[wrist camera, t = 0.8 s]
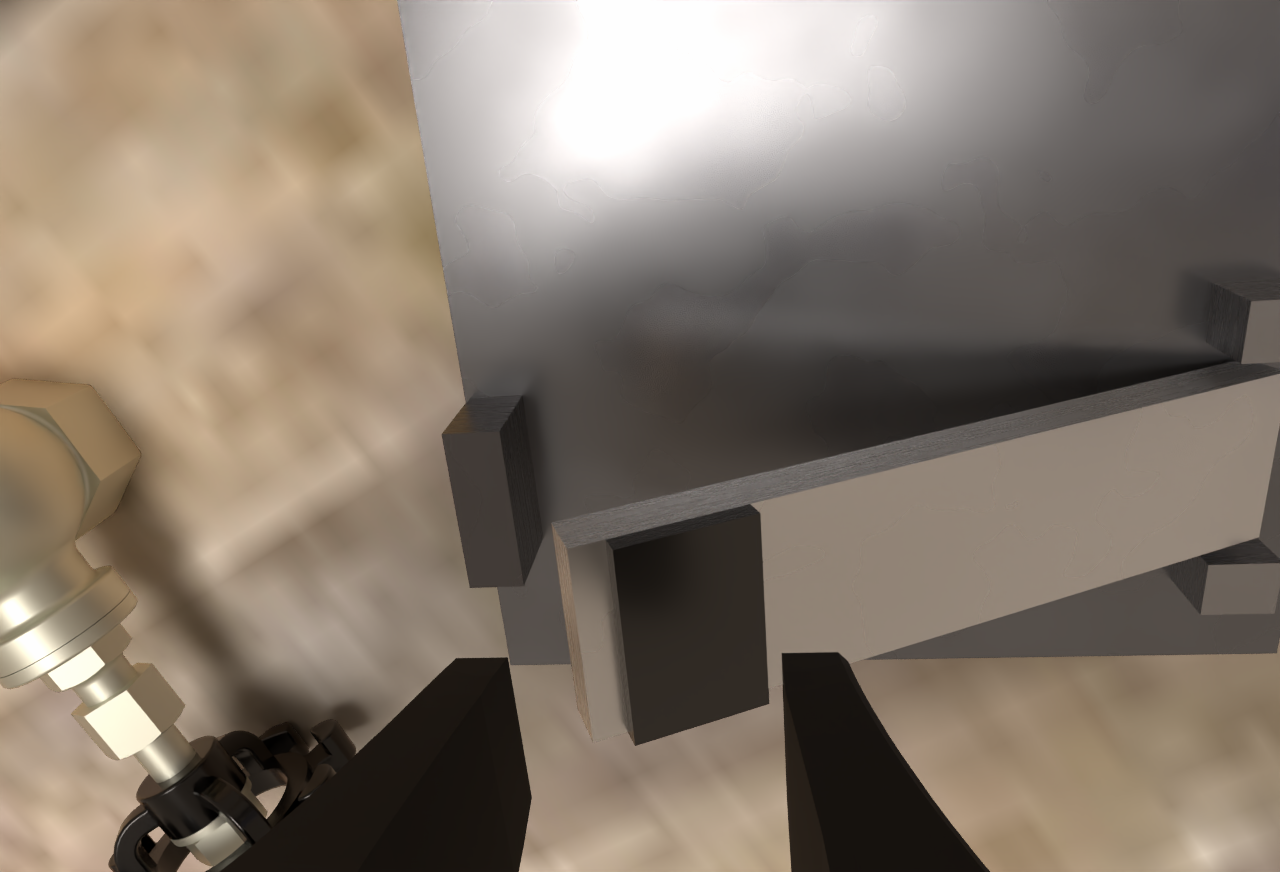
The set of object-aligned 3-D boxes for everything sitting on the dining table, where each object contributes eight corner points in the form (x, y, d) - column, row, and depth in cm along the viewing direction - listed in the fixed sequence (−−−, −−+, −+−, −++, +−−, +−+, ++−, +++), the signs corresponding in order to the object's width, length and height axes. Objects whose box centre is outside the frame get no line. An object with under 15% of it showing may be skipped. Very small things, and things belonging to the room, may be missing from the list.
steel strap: (1243, 358, 15) (1307, 376, 14) (1217, 518, 16) (1275, 544, 16) (550, 522, 12) (573, 560, 11) (577, 708, 13) (599, 757, 12)
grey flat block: (1454, -995, 12) (1885, -1629, 7) (1203, 571, 20) (1332, 715, 16) (336, -753, 14) (142, -1142, 9) (539, 589, 22) (489, 721, 18)
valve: (-86, 425, 22) (207, 784, 26) (-394, 562, 16) (45, 1007, 20) (116, 309, 21) (400, 711, 24) (-143, 415, 15) (287, 931, 18)
